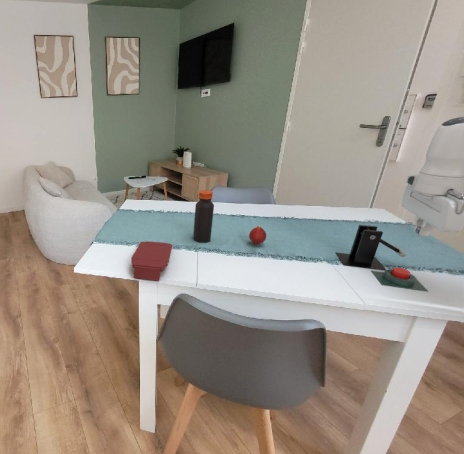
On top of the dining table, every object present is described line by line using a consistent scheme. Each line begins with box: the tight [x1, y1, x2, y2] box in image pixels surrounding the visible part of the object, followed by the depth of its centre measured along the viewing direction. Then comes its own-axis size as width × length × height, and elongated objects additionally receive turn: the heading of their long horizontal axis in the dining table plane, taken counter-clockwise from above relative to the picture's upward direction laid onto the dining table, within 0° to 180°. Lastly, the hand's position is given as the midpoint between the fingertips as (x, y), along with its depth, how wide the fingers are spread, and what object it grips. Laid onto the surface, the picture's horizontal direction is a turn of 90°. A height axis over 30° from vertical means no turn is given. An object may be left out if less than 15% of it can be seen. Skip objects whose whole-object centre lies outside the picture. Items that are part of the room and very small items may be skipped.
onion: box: [248, 225, 267, 246], centre depth 110 cm, size 6×6×8 cm
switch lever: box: [360, 227, 407, 258], centre depth 91 cm, size 12×5×2 cm, turn 68°
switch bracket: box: [335, 224, 387, 272], centre depth 93 cm, size 11×9×13 cm
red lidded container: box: [130, 240, 173, 282], centre depth 104 cm, size 12×5×25 cm
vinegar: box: [192, 189, 215, 243], centre depth 114 cm, size 7×7×20 cm
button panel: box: [370, 268, 429, 293], centre depth 84 cm, size 10×8×3 cm
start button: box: [391, 267, 411, 279], centre depth 84 cm, size 4×4×2 cm
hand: (420, 234), depth 79 cm, fingers closed
